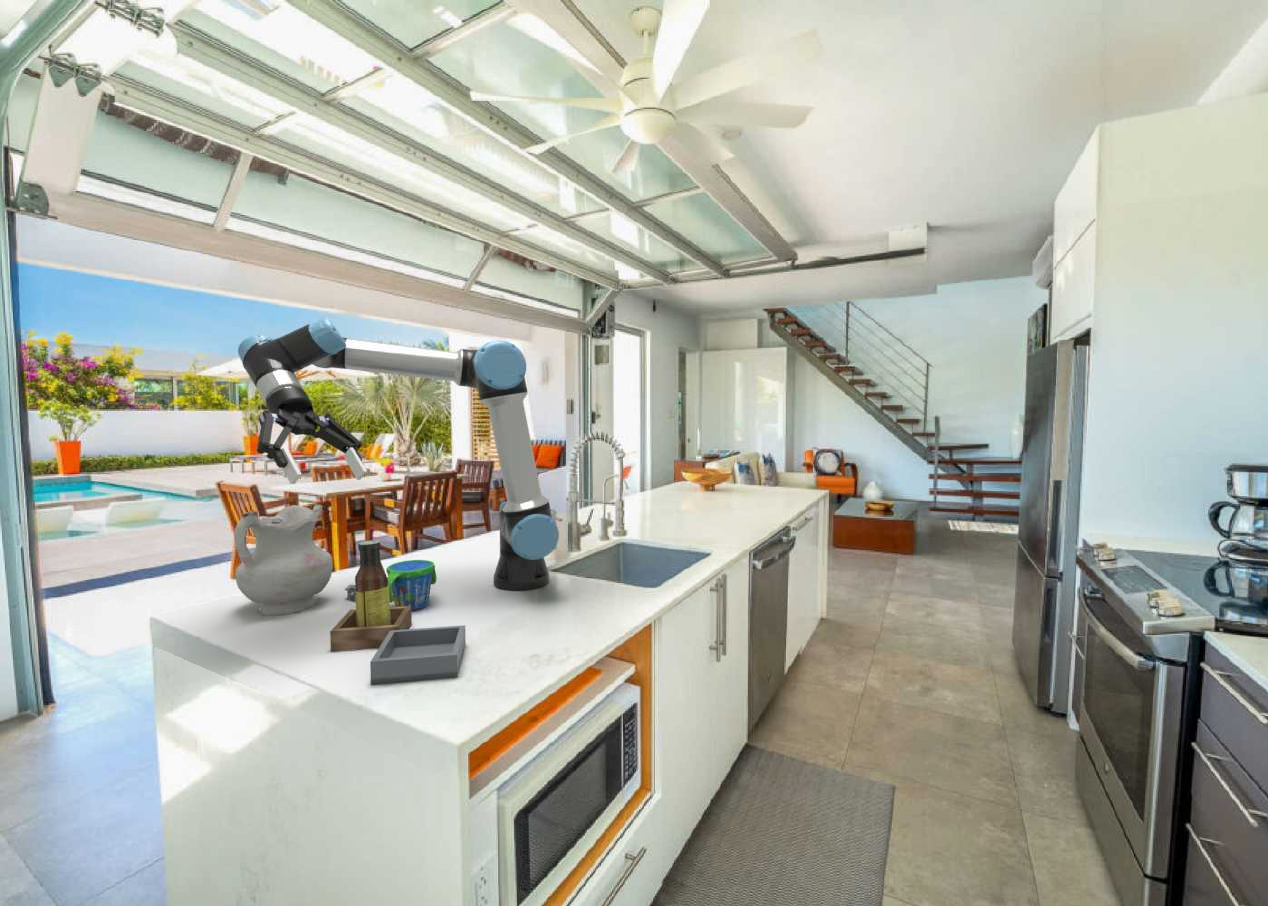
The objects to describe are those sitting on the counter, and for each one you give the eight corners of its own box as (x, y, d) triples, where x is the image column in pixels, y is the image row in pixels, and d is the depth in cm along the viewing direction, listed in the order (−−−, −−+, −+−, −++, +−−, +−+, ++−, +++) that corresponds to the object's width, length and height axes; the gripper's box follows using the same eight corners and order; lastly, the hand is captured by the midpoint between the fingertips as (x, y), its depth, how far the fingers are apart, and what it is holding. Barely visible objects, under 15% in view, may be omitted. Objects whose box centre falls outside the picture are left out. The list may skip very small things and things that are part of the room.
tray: (465, 644, 107) (465, 625, 107) (457, 677, 93) (457, 654, 93) (390, 650, 104) (390, 630, 104) (370, 685, 91) (370, 661, 90)
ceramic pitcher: (293, 630, 117) (299, 517, 116) (203, 623, 117) (208, 510, 116) (345, 599, 139) (351, 503, 137) (270, 593, 138) (275, 497, 137)
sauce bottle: (397, 631, 114) (395, 539, 113) (380, 643, 108) (378, 545, 107) (367, 630, 114) (365, 538, 113) (349, 642, 108) (347, 544, 107)
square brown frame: (411, 623, 118) (411, 605, 118) (399, 646, 106) (398, 626, 106) (350, 627, 116) (350, 609, 116) (330, 651, 104) (330, 631, 104)
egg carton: (358, 605, 131) (357, 589, 131) (342, 599, 136) (342, 583, 135) (397, 593, 140) (397, 578, 140) (381, 588, 144) (381, 574, 144)
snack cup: (401, 620, 120) (400, 576, 120) (368, 613, 125) (367, 570, 124) (451, 600, 134) (451, 560, 134) (420, 594, 139) (419, 555, 138)
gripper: (333, 414, 123) (376, 485, 117) (208, 406, 100) (254, 494, 94) (350, 391, 120) (394, 462, 114) (225, 378, 98) (273, 466, 92)
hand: (331, 477), depth 104 cm, fingers open, 13 cm apart
